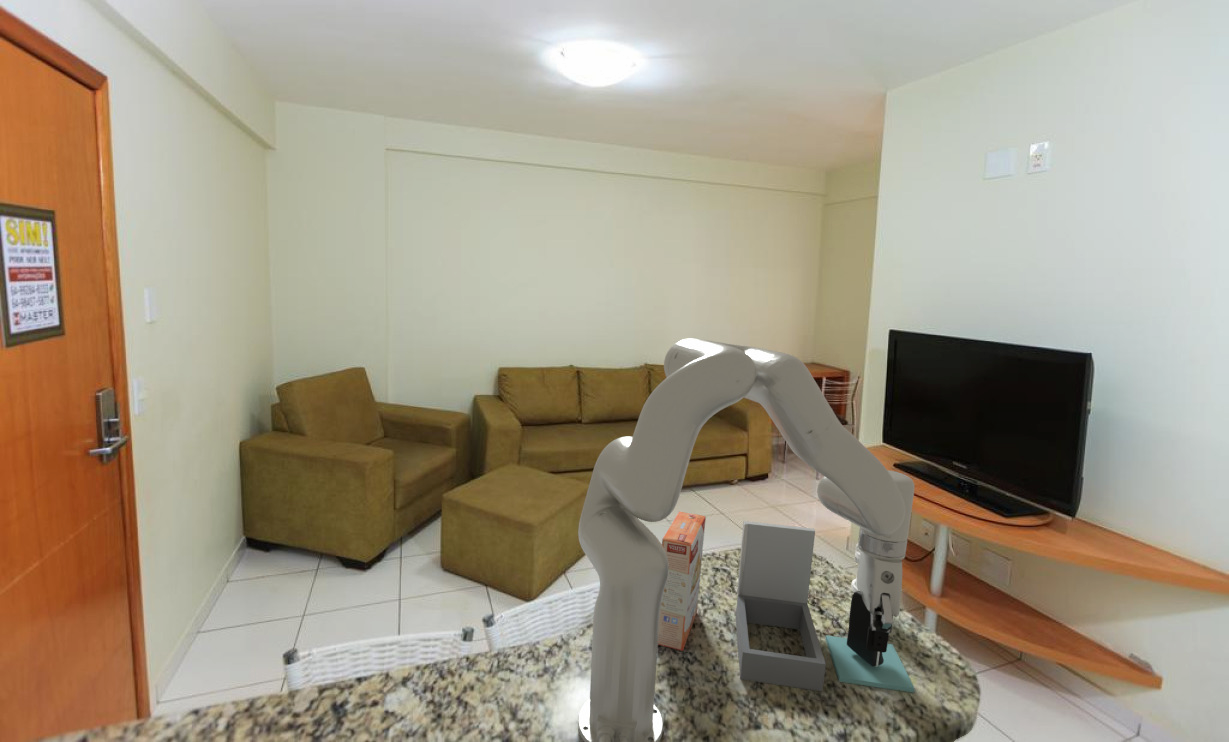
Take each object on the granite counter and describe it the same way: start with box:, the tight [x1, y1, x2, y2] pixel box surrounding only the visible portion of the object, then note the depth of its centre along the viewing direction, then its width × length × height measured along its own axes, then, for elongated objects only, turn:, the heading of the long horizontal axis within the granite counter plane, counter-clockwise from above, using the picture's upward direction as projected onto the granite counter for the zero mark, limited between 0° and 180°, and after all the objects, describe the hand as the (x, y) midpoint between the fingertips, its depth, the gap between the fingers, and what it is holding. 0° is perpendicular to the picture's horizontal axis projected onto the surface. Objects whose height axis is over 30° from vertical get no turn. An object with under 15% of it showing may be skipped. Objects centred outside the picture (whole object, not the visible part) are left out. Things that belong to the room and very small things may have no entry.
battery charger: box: [846, 590, 894, 667], centre depth 102 cm, size 7×4×11 cm, turn 20°
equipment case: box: [735, 520, 827, 692], centre depth 104 cm, size 20×13×20 cm
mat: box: [825, 634, 916, 694], centre depth 103 cm, size 12×12×1 cm
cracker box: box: [658, 511, 707, 652], centre depth 109 cm, size 14×6×21 cm, turn 161°
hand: (869, 635), depth 102 cm, fingers closed on battery charger, 7 cm apart
